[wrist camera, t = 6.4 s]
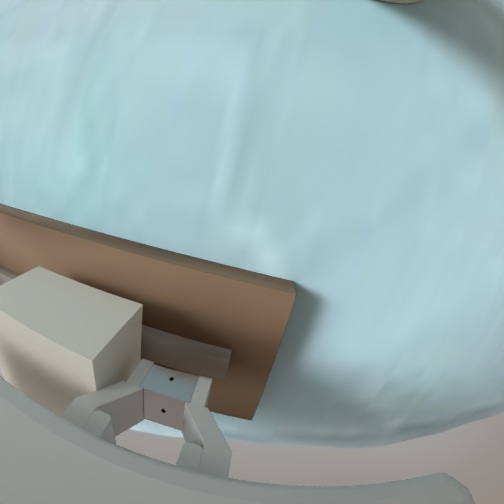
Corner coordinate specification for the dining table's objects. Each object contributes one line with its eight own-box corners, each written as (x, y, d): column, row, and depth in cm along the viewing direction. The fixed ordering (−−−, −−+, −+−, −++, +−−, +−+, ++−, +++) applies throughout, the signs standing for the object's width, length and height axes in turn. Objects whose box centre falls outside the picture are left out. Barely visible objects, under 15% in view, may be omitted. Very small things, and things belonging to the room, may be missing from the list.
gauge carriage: (22, 253, 11) (-39, 280, 7) (148, 298, 11) (92, 360, 7) (36, 352, 13) (-6, 391, 9) (144, 403, 13) (113, 464, 9)
